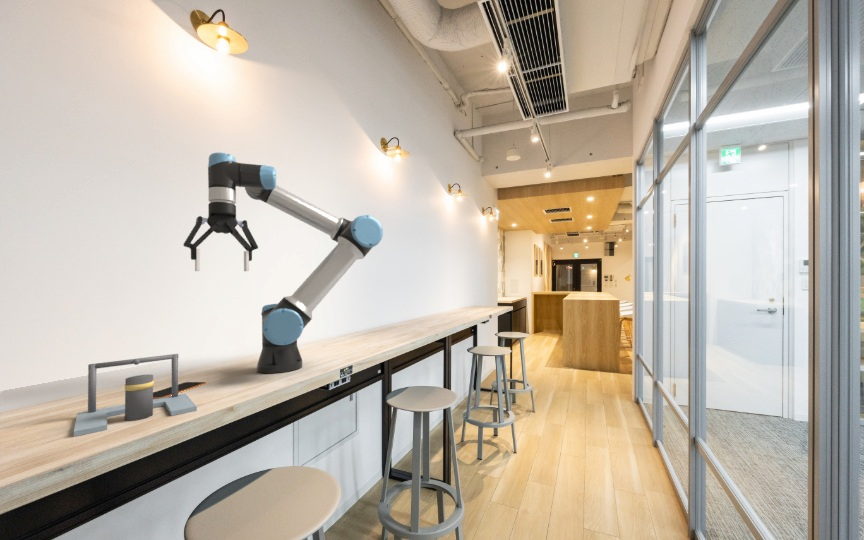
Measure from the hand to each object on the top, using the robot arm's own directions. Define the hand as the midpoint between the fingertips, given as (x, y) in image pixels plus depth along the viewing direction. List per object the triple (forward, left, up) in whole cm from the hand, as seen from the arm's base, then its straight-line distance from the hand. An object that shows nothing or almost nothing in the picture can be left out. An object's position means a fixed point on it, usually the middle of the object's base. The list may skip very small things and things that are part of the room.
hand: (222, 271), depth 114 cm
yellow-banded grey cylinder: (+21, +19, -35) cm, 45 cm away
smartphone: (+12, -3, -35) cm, 37 cm away
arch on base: (+22, +16, -35) cm, 44 cm away
